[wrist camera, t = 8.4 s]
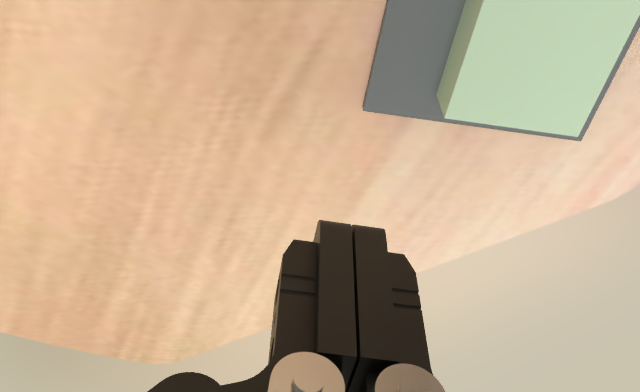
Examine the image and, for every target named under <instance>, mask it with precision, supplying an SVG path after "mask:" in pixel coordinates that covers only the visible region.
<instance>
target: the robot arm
mask: <svg viewBox="0 0 640 392" xmlns="http://www.w3.org/2000/svg"><path fill="white" fill-rule="evenodd" d="M418 292H419V291H418V285H417V278H416V272H415V271H414V269H413V268H412V266H411V264H410V263H409V261H408V260H407V258H406V257H405V255H404V254H397V253H389V252H388V251H387V241H386V233H385V230H384V229H381V228H374V227H367V226H359V225H352V226H351V225H350V224H344V223H337V222H330V221H323V220H319V221H318V224H317V228H316V233H315V237H314V241H313V242H308V241H301V240H293V241H292V243H291V244H290V246H289V247H288V249H287V250H286V251H285V253H284V254H283V258H282V263H281V269H280V274H279V279H278V285H277V290H276V295H275V302H274V312H273V322H272V332H271V342H270V352H269V362H268V366H266V368H265V369H264V370H263V371H261V372H260V373H259V374H258V375H256V376H254V377H252V378H250V379H248V380H245V381H241V382H236V383H231V384H227V385H221V386H220V385H219V384H218V383H217V382H216V381H215V380H214V379H212V378H210V377H208V376H206V375H203V374H200V373H194V372H185V373H179V374H175V375H172V376H170V377H168V378H166V379H164V380H163V381H161V382H160V383H158V384H157V385H156V386H154V387H153V388H152V389H150V390H149V391H148V392H445V390H444V389H443V387H442V385H441V384H440V383H439V381H438V380H437V379H436V378H435V377H434V376H433V374H432V371H431V367H430V361H429V354H428V348H427V342H426V335H425V329H424V323H423V316H422V311H421V304H420V297H419V295H418Z"/></svg>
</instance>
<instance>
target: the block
mask: <svg viewBox="0 0 640 392" xmlns="http://www.w3.org/2000/svg"><path fill="white" fill-rule="evenodd" d="M639 15H640V0H466V1H465V5H464V8H463V11H462V14H461V17H460V20H459V24H458V27H457V30H456V33H455V36H454V40H453V43H452V46H451V49H450V52H449V55H448V59H447V62H446V65H445V68H444V71H443V75H442V78H441V81H440V84H439V87H438V91H437V94H436V95H437V98H438V101H439V104H440V107H441V110H442V113H443V116H444V118H446V119H453V120H460V121H467V122H474V123H481V124H488V125H495V126H502V127H510V128H517V129H524V130H531V131H538V132H545V133H552V134H559V135H566V136H574V137H578V136H579V134H580V132H581V130H582V128H583V126H584V124H585V122H586V120H587V118H588V116H589V114H590V112H591V110H592V108H593V106H594V104H595V102H596V100H597V98H598V96H599V94H600V92H601V90H602V88H603V86H604V84H605V82H606V80H607V78H608V76H609V74H610V72H611V70H612V69H613V67H614V65H615V63H616V61H617V59H618V57H619V55H620V53H621V51H622V49H623V47H624V45H625V43H626V41H627V39H628V37H629V35H630V33H631V31H632V29H633V27H634V25H635V23H636V21H637V19H638V17H639Z"/></svg>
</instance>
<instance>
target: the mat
mask: <svg viewBox="0 0 640 392" xmlns="http://www.w3.org/2000/svg"><path fill="white" fill-rule="evenodd" d="M465 1H466V0H387V3H386V8H385V12H384V16H383V21H382V25H381V29H380V34H379V38H378V42H377V47H376V51H375V55H374V60H373V64H372V68H371V73H370V77H369V81H368V86H367V90H366V94H365V99H364V103H363V111H368V112H375V113H383V114H390V115H397V116H404V117H411V118H418V119H425V120H433V121H440V122H447V123H454V124H461V125H468V126H475V127H483V128H490V129H497V130H504V131H511V132H518V133H525V134H533V135H540V136H547V137H554V138H561V139H568V140H575V141H581V140H582V138H583V136H584V134H585V132H586V130H587V129H588V127H589V125H590V123H591V121H592V119H593V117H594V115H595V113H596V111H597V109H598V107H599V105H600V103H601V101H602V99H603V97H604V95H605V93H606V91H607V89H608V87H609V86H610V84H611V82H612V80H613V78H614V76H615V74H616V72H617V70H618V68H619V66H620V64H621V62H622V60H623V58H624V56H625V54H626V52H627V50H628V48H629V46H630V44H631V43H632V41H633V39H634V37H635V35H636V33H637V31H638V29H639V27H640V15H639V17H638V19H637V21H636V23H635V25H634V27H633V29H632V31H631V33H630V35H629V37H628V39H627V41H626V43H625V45H624V47H623V49H622V51H621V53H620V55H619V57H618V59H617V61H616V63H615V65H614V67H613V69H612V70H611V72H610V74H609V76H608V78H607V80H606V82H605V84H604V86H603V88H602V90H601V92H600V94H599V96H598V98H597V100H596V102H595V104H594V106H593V108H592V110H591V112H590V114H589V116H588V118H587V120H586V122H585V124H584V126H583V128H582V130H581V132H580V134H579V136H578V137H574V136H566V135H559V134H552V133H545V132H538V131H531V130H524V129H517V128H510V127H502V126H495V125H488V124H481V123H474V122H467V121H460V120H453V119H446V118H444V116H443V113H442V110H441V107H440V104H439V101H438V98H437V95H436V94H437V91H438V87H439V84H440V81H441V78H442V75H443V71H444V68H445V65H446V62H447V59H448V55H449V52H450V49H451V46H452V43H453V40H454V36H455V33H456V30H457V27H458V24H459V20H460V17H461V14H462V11H463V8H464V5H465Z"/></svg>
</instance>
